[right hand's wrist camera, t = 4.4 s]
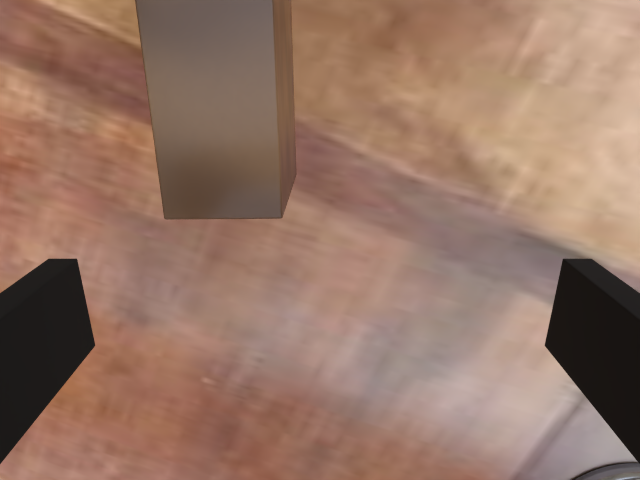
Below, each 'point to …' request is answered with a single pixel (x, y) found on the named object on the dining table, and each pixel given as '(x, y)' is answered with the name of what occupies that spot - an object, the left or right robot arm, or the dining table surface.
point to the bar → (221, 105)
